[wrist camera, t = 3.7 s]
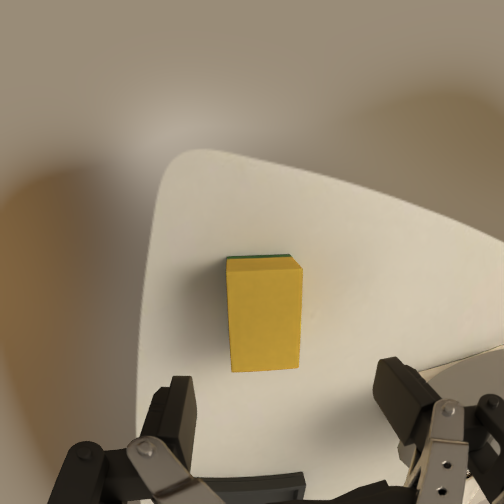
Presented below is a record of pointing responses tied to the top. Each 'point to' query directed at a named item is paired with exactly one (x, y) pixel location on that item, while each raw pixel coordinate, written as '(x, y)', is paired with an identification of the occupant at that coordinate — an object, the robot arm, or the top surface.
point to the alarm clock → (465, 385)
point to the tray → (259, 488)
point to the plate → (470, 490)
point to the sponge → (264, 312)
